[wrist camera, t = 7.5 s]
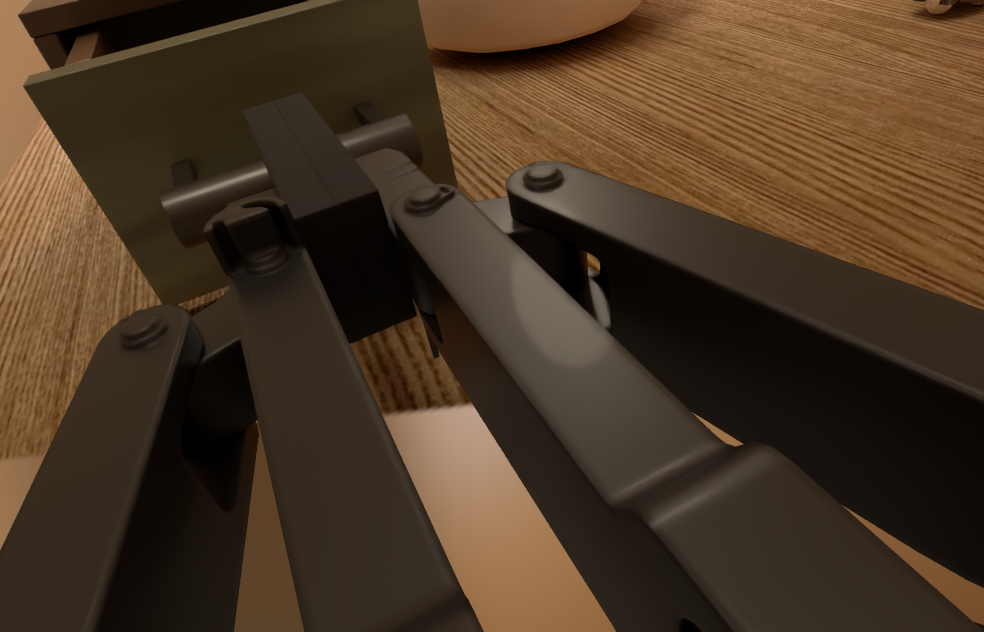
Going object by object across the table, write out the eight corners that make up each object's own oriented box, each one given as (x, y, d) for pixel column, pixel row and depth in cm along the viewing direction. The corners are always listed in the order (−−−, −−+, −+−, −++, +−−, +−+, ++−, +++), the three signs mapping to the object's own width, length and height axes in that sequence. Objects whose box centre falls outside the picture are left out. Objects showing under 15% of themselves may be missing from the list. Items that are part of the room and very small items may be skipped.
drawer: (511, 248, 21) (469, -2, 16) (169, 385, 18) (-8, 134, 13) (367, 108, 34) (320, -52, 29) (158, 174, 31) (67, 11, 26)
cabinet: (418, 156, 30) (362, -70, 24) (157, 247, 27) (16, 14, 21) (345, 85, 41) (293, -83, 35) (152, 144, 38) (59, -28, 32)
